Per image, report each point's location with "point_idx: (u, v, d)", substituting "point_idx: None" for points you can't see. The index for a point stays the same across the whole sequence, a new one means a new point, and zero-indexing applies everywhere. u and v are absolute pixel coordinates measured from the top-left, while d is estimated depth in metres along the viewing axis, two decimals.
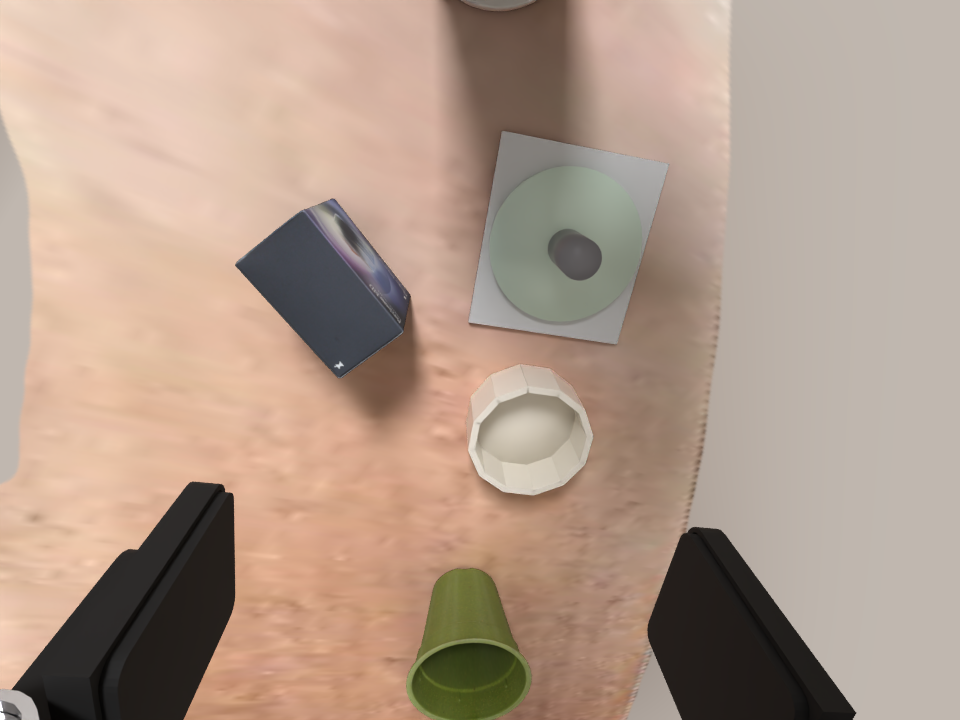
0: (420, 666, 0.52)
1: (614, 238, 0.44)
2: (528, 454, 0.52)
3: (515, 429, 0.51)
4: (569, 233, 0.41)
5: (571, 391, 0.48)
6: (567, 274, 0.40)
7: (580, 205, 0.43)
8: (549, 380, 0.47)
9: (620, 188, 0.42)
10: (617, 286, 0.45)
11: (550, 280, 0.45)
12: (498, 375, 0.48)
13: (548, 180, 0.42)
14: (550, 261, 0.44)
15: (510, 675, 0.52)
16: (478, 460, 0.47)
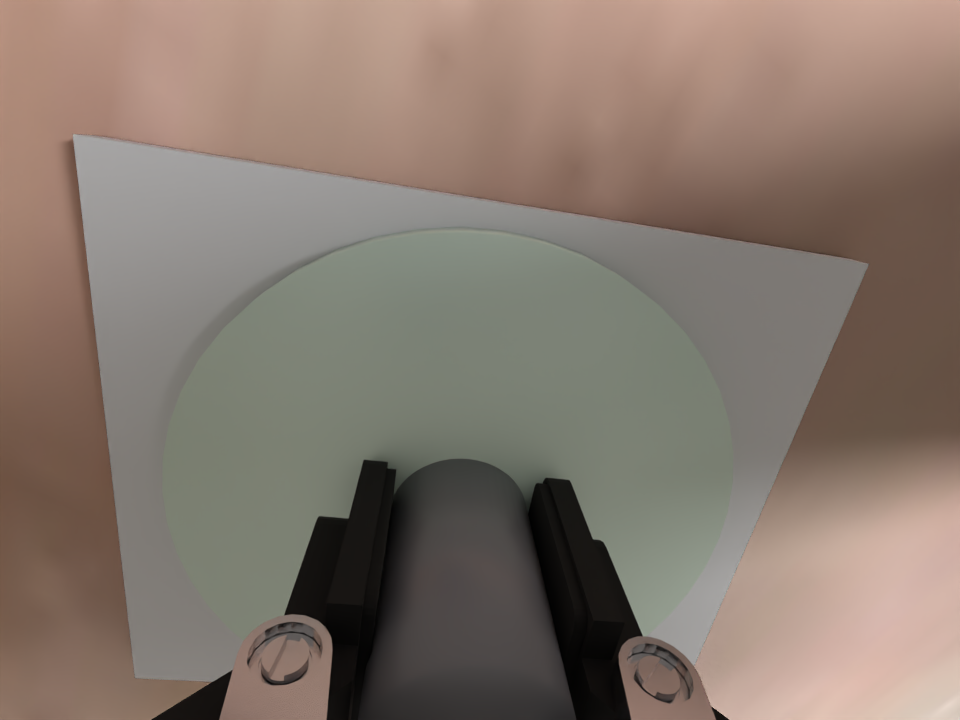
0: None
1: None
2: None
3: None
4: None
5: None
6: (383, 706, 0.07)
7: (602, 541, 0.13)
8: None
9: None
10: None
11: (331, 479, 0.11)
12: None
13: (696, 438, 0.12)
14: (406, 472, 0.12)
15: None
16: None
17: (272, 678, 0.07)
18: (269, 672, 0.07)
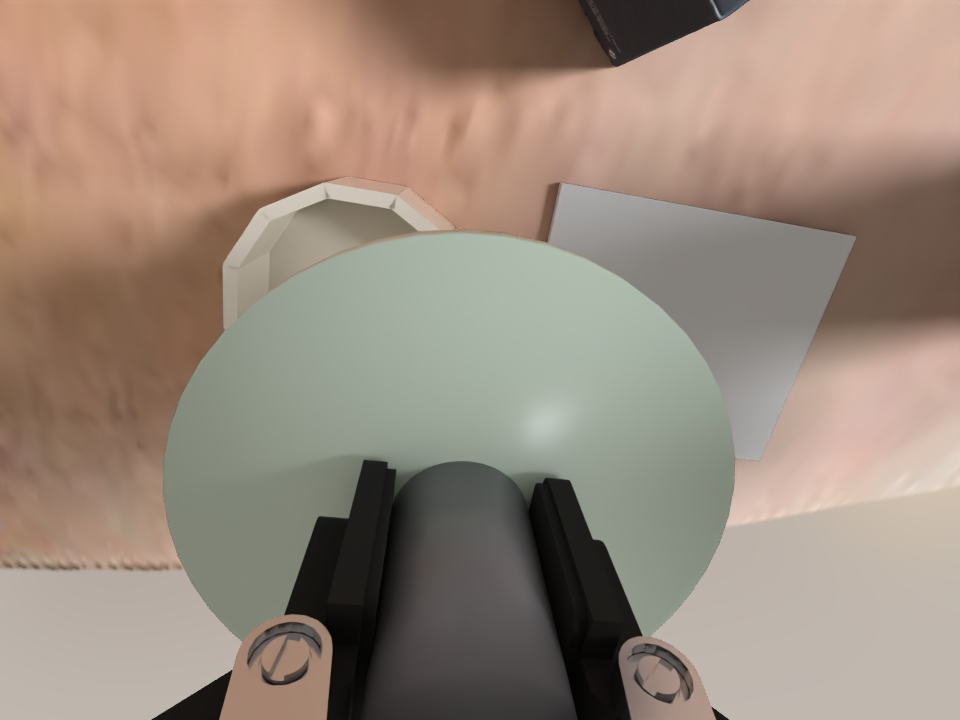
0: None
1: None
2: None
3: None
4: (543, 577, 0.10)
5: None
6: (386, 710, 0.07)
7: None
8: None
9: None
10: None
11: (332, 481, 0.11)
12: None
13: (698, 441, 0.12)
14: (407, 474, 0.12)
15: None
16: (299, 206, 0.21)
17: (272, 678, 0.07)
18: (269, 672, 0.07)
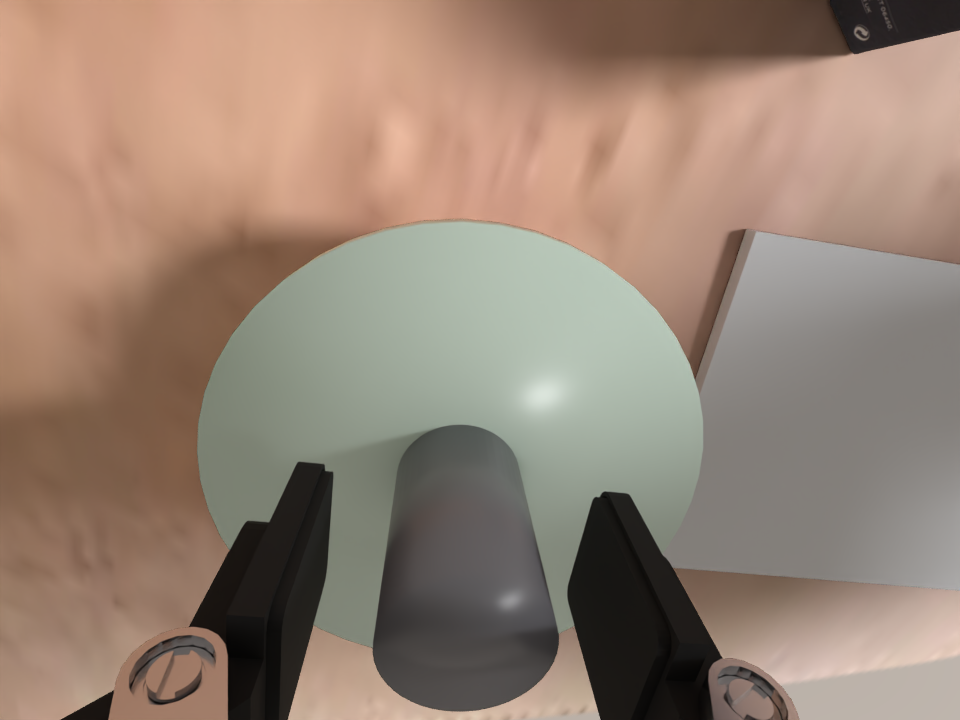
0: None
1: None
2: None
3: None
4: (531, 520, 0.11)
5: None
6: (397, 611, 0.09)
7: (587, 501, 0.14)
8: None
9: None
10: (347, 620, 0.15)
11: (346, 442, 0.13)
12: None
13: (669, 407, 0.13)
14: (412, 436, 0.13)
15: None
16: None
17: (161, 697, 0.06)
18: (157, 692, 0.06)
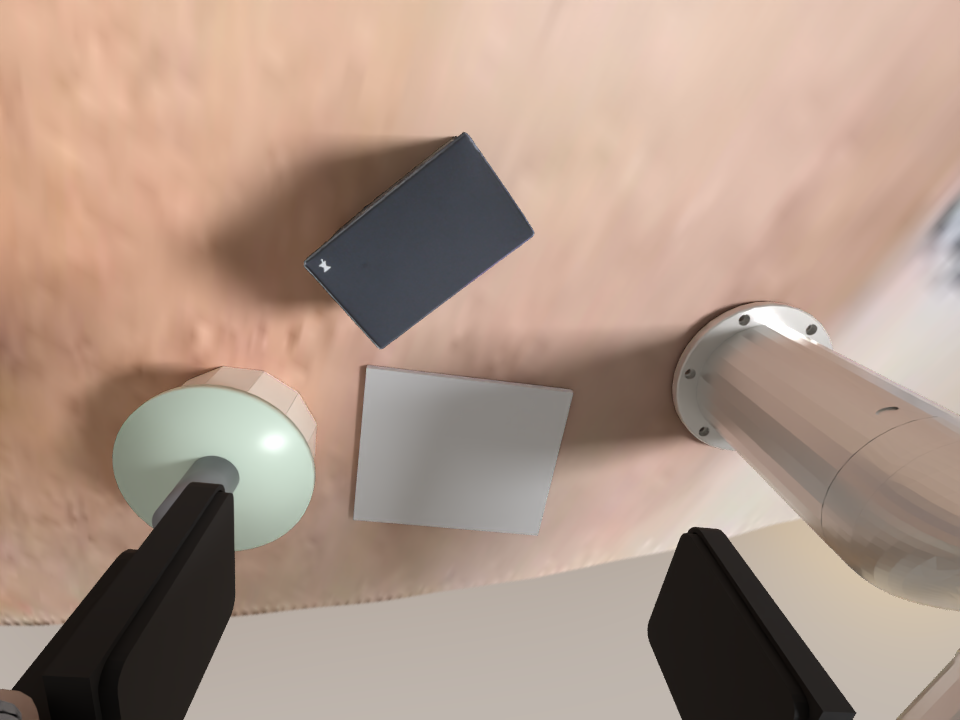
0: None
1: (237, 523, 0.37)
2: None
3: None
4: None
5: None
6: (157, 512, 0.30)
7: (269, 484, 0.36)
8: None
9: (295, 521, 0.37)
10: None
11: (168, 462, 0.35)
12: (300, 405, 0.39)
13: (292, 449, 0.35)
14: (193, 460, 0.35)
15: None
16: None
17: None
18: None
